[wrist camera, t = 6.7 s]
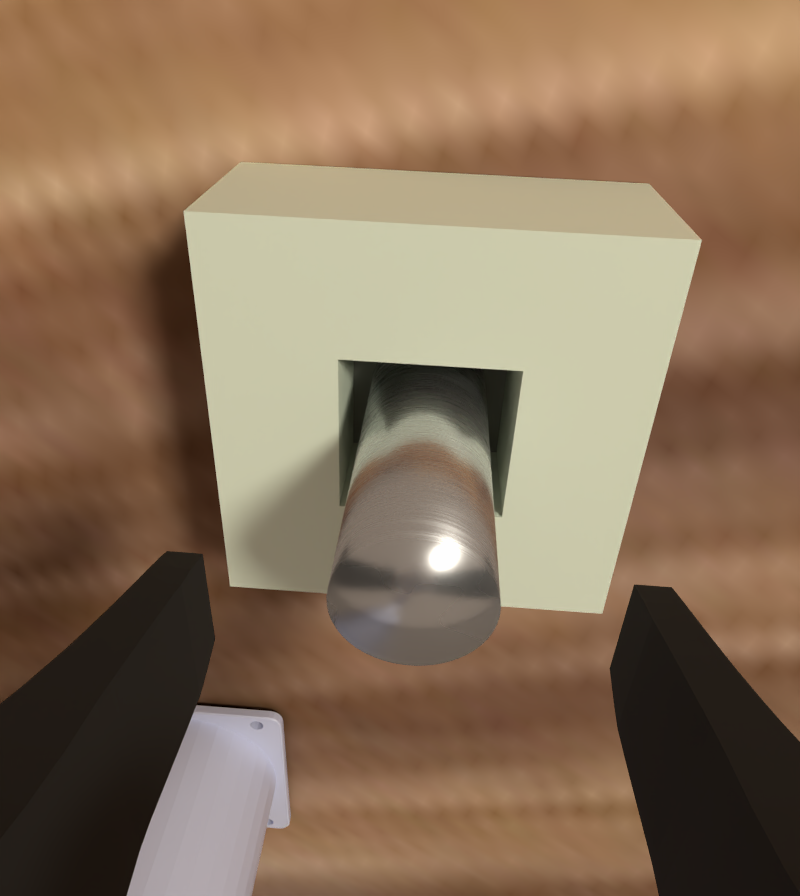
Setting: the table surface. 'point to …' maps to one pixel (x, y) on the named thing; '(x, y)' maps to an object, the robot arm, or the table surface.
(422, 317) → the bore block
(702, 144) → the table surface
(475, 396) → the pin
